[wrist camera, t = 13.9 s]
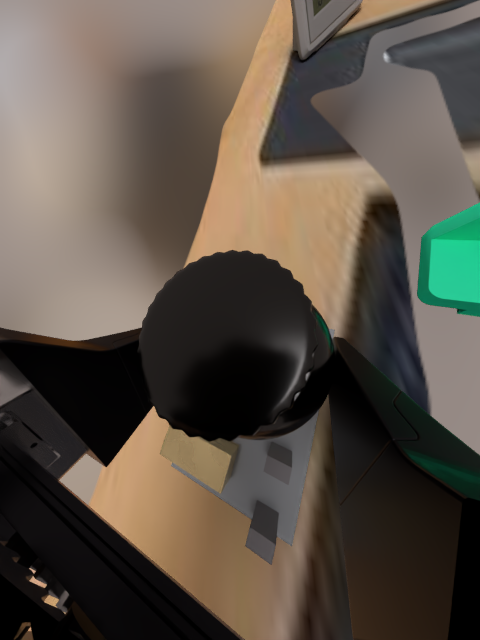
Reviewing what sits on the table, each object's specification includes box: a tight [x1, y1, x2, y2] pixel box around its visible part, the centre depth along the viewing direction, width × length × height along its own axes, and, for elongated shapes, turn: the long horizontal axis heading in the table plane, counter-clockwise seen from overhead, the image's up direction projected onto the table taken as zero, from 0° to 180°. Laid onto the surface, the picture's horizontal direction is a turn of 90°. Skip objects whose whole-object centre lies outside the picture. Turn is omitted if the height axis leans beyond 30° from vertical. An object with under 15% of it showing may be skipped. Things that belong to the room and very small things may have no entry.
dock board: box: [171, 329, 335, 565], centre depth 17 cm, size 19×13×4 cm
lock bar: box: [160, 426, 239, 494], centre depth 17 cm, size 3×7×2 cm, turn 72°
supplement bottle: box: [137, 250, 335, 442], centre depth 10 cm, size 7×7×12 cm
